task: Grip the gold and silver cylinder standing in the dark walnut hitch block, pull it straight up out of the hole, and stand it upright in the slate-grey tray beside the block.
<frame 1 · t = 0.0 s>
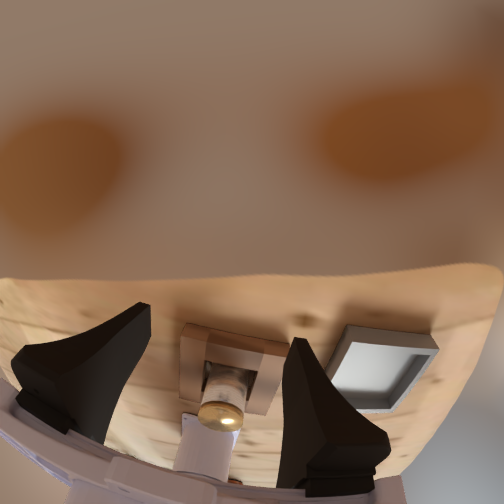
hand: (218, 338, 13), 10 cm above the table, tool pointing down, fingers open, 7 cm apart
hitch block: (230, 368, 27), on the table
gold and silver cylinder: (225, 393, 24), in the hitch block
tray: (371, 368, 26), on the table
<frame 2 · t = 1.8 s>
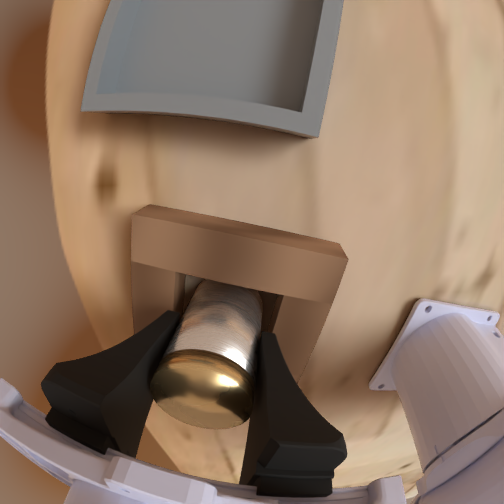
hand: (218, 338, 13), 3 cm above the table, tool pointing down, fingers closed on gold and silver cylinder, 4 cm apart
hitch block: (227, 305, 16), on the table
gold and silver cylinder: (216, 345, 12), in the hitch block, touching gripper
tray: (221, 23, 10), on the table
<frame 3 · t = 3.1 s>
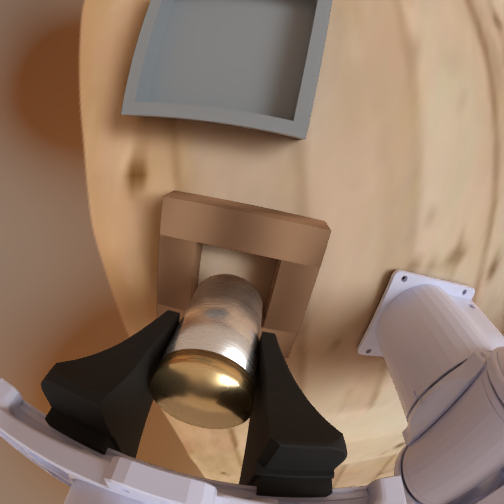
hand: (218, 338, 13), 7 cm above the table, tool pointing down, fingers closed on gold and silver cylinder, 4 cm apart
hitch block: (235, 274, 19), on the table
gold and silver cylinder: (215, 345, 12), point 8 cm above the table, touching gripper
tray: (232, 47, 13), on the table
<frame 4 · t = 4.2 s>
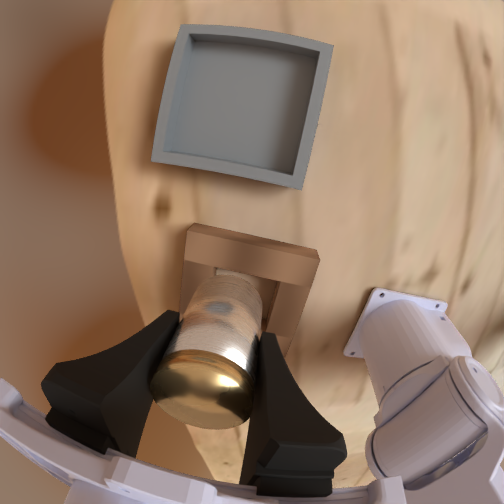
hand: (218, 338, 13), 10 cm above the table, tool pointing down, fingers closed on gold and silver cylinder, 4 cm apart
hitch block: (243, 289, 24), on the table
gold and silver cylinder: (215, 345, 12), point 11 cm above the table, touching gripper
tray: (243, 102, 18), on the table
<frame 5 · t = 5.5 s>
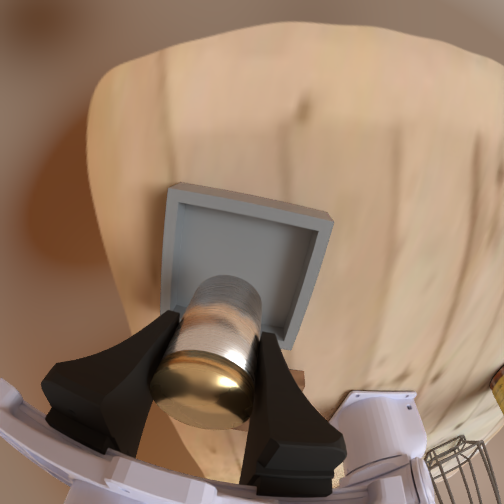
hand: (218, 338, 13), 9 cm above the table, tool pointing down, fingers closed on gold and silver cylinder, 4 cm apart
sauce bottle: (501, 372, 25), on the table
geometric lantern: (448, 446, 33), on the table
gold and silver cylinder: (215, 346, 12), point 9 cm above the table, touching gripper
tray: (240, 263, 21), on the table
when the fingers open (5 cm above the table, at t = 6.5 s): gold and silver cylinder drops 1 cm, resting on tray.
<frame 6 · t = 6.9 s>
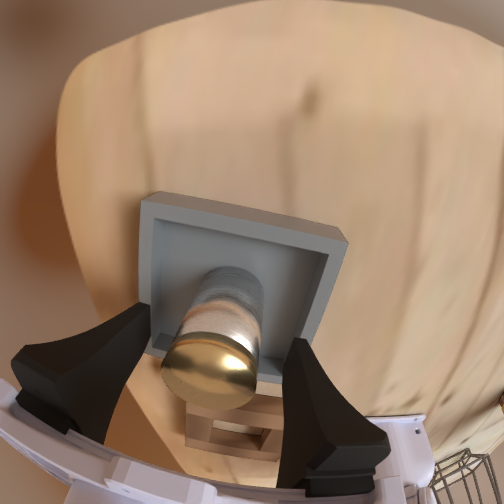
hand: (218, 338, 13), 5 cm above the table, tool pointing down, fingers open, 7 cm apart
geometric lantern: (452, 459, 30), on the table
hitch block: (240, 421, 23), on the table
gold and silver cylinder: (221, 331, 13), in the tray, point 4 cm above the table
tray: (232, 288, 17), on the table
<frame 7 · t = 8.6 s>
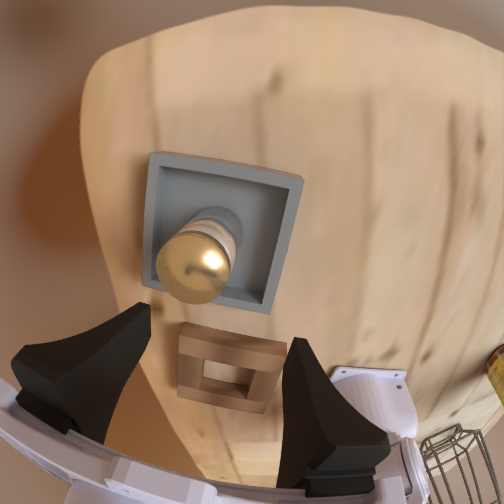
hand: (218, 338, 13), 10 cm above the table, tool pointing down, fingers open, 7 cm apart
sauce bottle: (496, 356, 26), on the table
geometric lantern: (444, 435, 34), on the table
hitch block: (228, 367, 27), on the table
gold and silver cylinder: (206, 248, 18), in the tray, point 4 cm above the table
tray: (218, 227, 22), on the table
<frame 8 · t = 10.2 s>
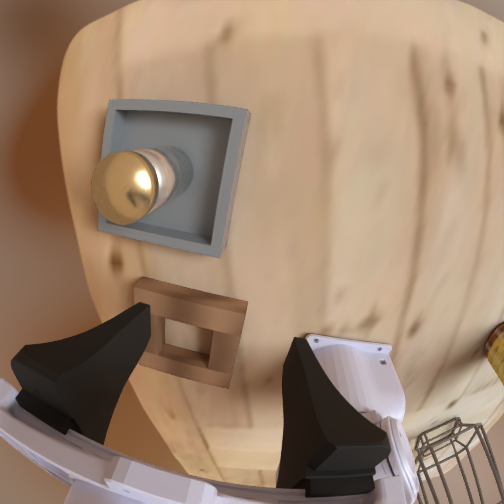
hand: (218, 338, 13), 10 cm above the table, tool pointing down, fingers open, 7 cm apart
sauce bottle: (496, 336, 24), on the table
geometric lantern: (441, 430, 32), on the table
hitch block: (189, 331, 26), on the table
gold and silver cylinder: (147, 179, 16), in the tray, point 4 cm above the table
tray: (171, 170, 20), on the table
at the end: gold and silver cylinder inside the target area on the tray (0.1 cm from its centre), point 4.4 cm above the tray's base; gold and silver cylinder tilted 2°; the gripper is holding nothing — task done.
